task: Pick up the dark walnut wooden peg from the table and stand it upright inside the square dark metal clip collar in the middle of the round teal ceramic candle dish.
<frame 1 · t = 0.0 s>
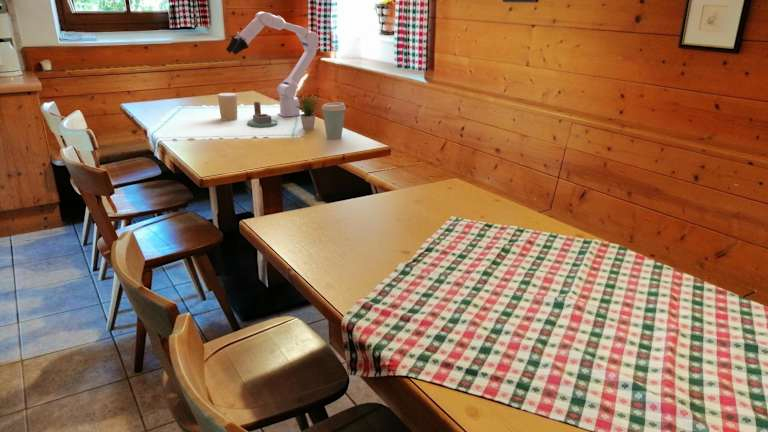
hand: (230, 52, 263), 32 cm above the table, tool tilted 50°, fingers open, 7 cm apart
walnut peg: (258, 118, 281), on the table
candle dish: (262, 123, 270), on the table
disposable coffee cup: (333, 137, 250), on the table
coffee cup: (229, 119, 278), on the table
house plant: (308, 129, 263), on the table
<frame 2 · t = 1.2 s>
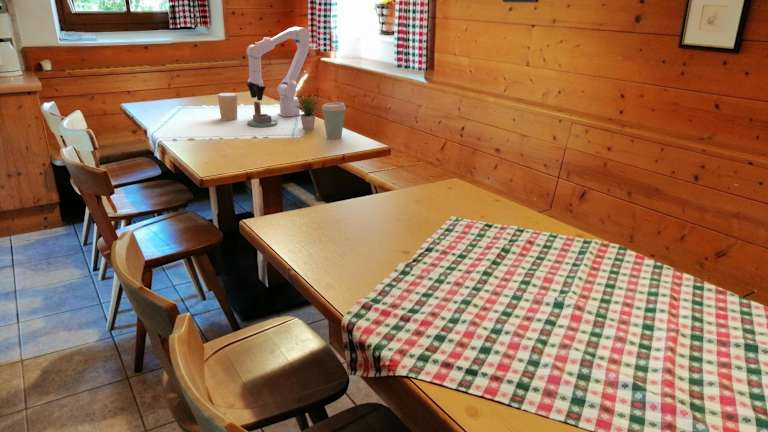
hand: (256, 99, 278), 9 cm above the table, tool pointing down, fingers open, 7 cm apart
nothing on the table moved.
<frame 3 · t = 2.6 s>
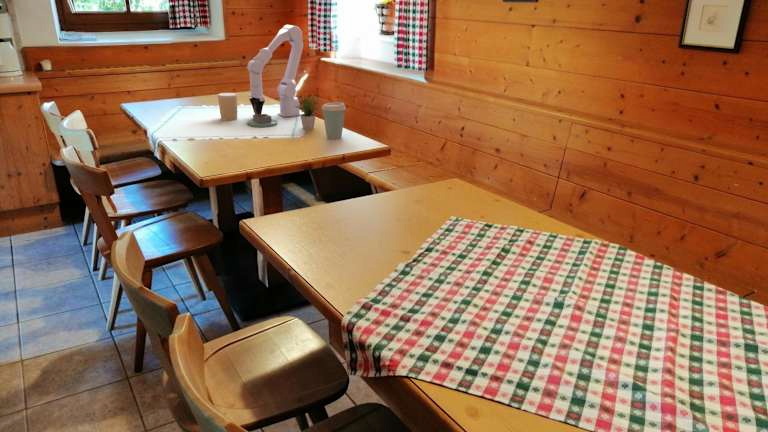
hand: (257, 113, 280), 2 cm above the table, tool pointing down, fingers closed on walnut peg, 3 cm apart
walnut peg: (258, 118, 281), on the table, touching gripper
everything else where it was.
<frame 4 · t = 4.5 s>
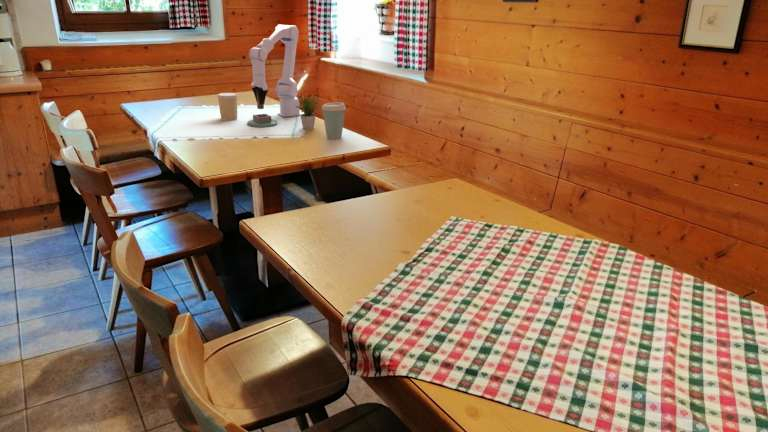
hand: (260, 103, 268), 9 cm above the table, tool pointing down, fingers closed on walnut peg, 3 cm apart
walnut peg: (260, 108, 269), point 7 cm above the table, touching gripper
everything else where it was.
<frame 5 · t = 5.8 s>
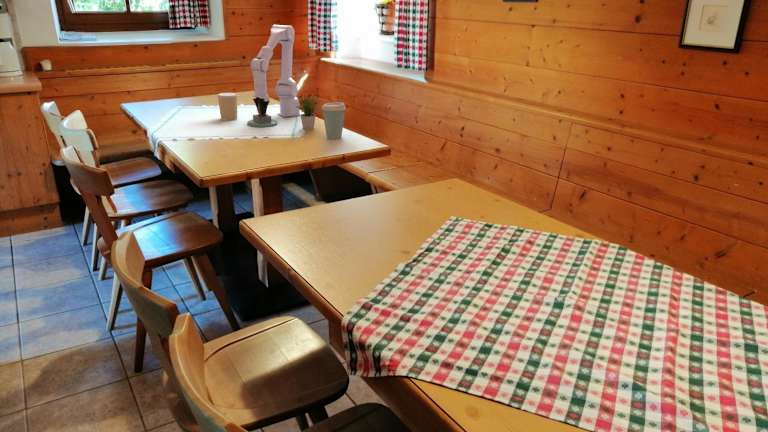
hand: (261, 114, 268), 5 cm above the table, tool pointing down, fingers closed on walnut peg, 3 cm apart
walnut peg: (262, 119, 269), point 2 cm above the table, touching gripper
everything else where it was.
when the fingers open (5 cm above the table, at t = 6.5 s): walnut peg drops 1 cm, resting on candle dish.
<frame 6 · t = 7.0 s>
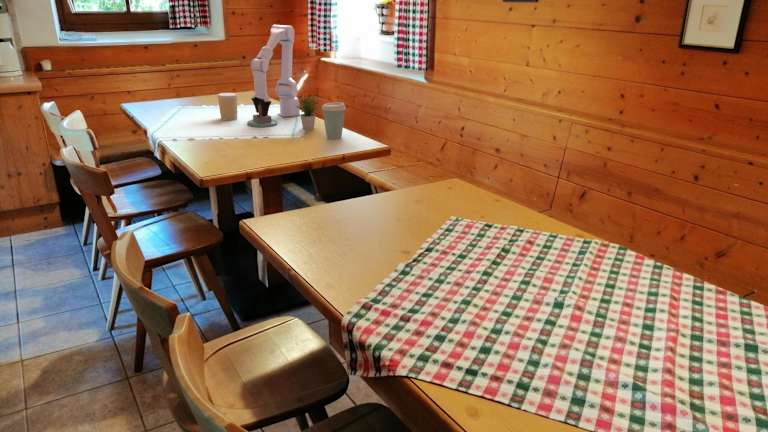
hand: (261, 114, 268), 5 cm above the table, tool pointing down, fingers open, 7 cm apart
walnut peg: (262, 121, 269), point 1 cm above the table, touching candle dish
everything else where it was.
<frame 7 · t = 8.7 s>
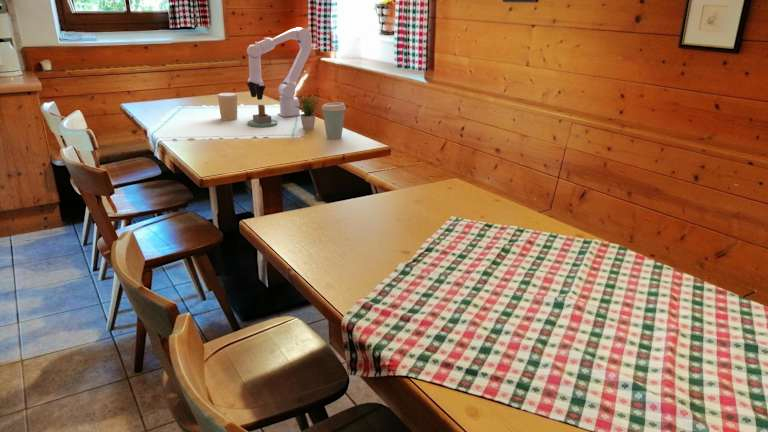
hand: (256, 98, 280), 9 cm above the table, tool pointing down, fingers open, 7 cm apart
nothing on the table moved.
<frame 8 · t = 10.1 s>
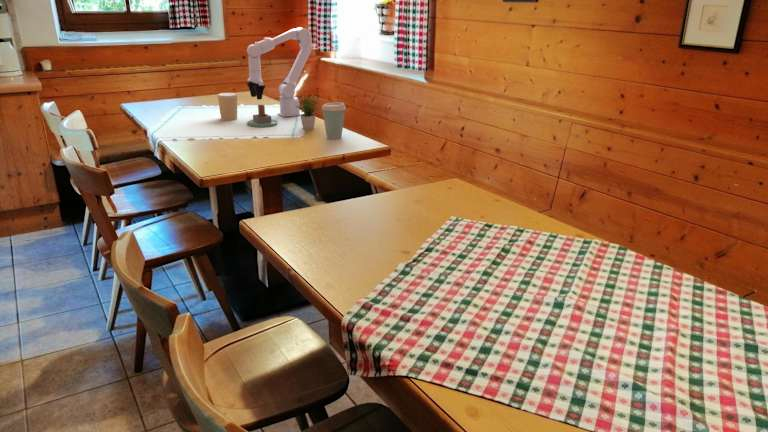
hand: (256, 98, 281), 9 cm above the table, tool pointing down, fingers open, 7 cm apart
nothing on the table moved.
at the end: walnut peg 0.1 cm off-centre on the candle dish, point 1.0 cm above the candle dish's base; walnut peg tilted 0°; the gripper is holding nothing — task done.
